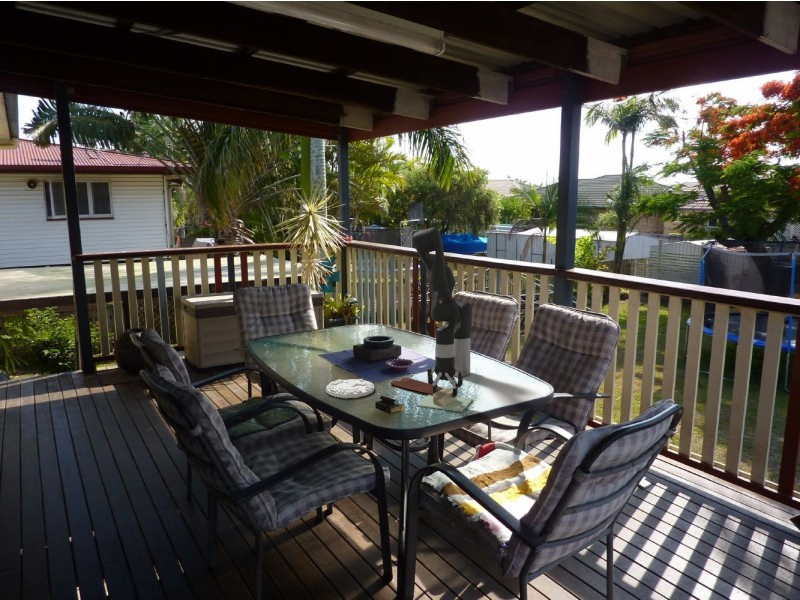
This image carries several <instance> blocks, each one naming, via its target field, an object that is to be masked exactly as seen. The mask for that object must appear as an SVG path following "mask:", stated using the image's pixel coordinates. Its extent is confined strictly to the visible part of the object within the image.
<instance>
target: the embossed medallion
mask: <svg viewBox="0 0 800 600" xmlns="http://www.w3.org/2000/svg"><path fill="white" fill-rule="evenodd" d="M374 385H375V384H374V383H373V382H371V381H368V380H364V378H359V379H350V378H349V379H336V380H333V381H330V382H329V384H327V385H326V388H325V389H326V393H327V394H328V395H330V396H332V397H333V396H334V398H336V397H337V398H342V399H346V400H347V399H348V398H349V399H358V398H361V397H364V396H368V395H371V394H372V393H373V392H374V391H375V386H374Z"/></svg>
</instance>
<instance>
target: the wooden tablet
mask: <svg viewBox="0 0 800 600" xmlns="http://www.w3.org/2000/svg"><path fill="white" fill-rule="evenodd" d="M390 384H391V385H392V386H396V387H399V388H404V389H408V390H413V391H416V392H419V393H420V392H421V393H425V394H428V395H429V394H433V385H431V384H428V382H425V381H422V380H419V379H414V378H409V377H402V378H401V379H399V380H392V381H391V382H389V385H390ZM442 389H445V388H444V387H442V386H439V385H438V391H440V390H442Z"/></svg>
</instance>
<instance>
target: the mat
mask: <svg viewBox="0 0 800 600" xmlns="http://www.w3.org/2000/svg"><path fill="white" fill-rule="evenodd" d="M472 400H473V401H474V399H473V398H469V397H461V396H457V400H456V401H454V402H452V403H450V404H448V405H446V406H440V405H436V404H433V394H429V393H428V394H427V395H426V397H424V398H423V399H422V400H421V401H420V402H419V403H417V404H416V407H419V408H425V407H426V408H427V409H433V408H435V409H434V410H440V409H442V410H441V411H448V410H453V411H452V412H456V411H460V412H459V413H463V412H464V411H465V410H466V409H467V407H469V405H470V404H471V403H472V402H473V401H472ZM471 401H472V402H471ZM465 408H466V409H465ZM464 409H465V410H464ZM463 410H464V411H463Z"/></svg>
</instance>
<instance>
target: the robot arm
mask: <svg viewBox="0 0 800 600" xmlns="http://www.w3.org/2000/svg"><path fill="white" fill-rule="evenodd" d="M412 243H413V247H414V248H415V251H416V252H417V254H418V256H419V257H420V259H421V261H422V263H423V264H424V266H425V269H426V271H427V273H428V275H429V276H428V284H429V290H430V295H431V307H430V316H431V319H432V320H433V321H434V322H435V323H443V322H444V323H445V322H446V323H445V324H444V325H442V326H439V327H437V328H436V329H435V348H434V356H435V357H434V362H435V363H434V366H435V367H434V368H432V367H429V368H428V369H427V370H426V373H427V383H428V384H431V385H433V394H434V393H436V392H438V386H439V385H438V383H439V382H440V381H447V382H449V384H450V385H451V386H452V387H453V388H452V389H453V398H455V397H456V396H457V397H458V395H459V394H458V388H461V387H462V386H463V385H464V384H463V381H464V379H463V377H467V376H468V377H469V376H471V333H472V323H473V321H472V320H473V307H472V304H471V303H470V302H468V301H461V300H460V301H459V300H455V299H454V297H453V295H452V294H453V292H454V289H455V287H456V279H455V276H454V274H453V271H452V268H451V267H449V266H448V265H447V264H446V263H445V252H444V245H443V244H444V243H443V239H442V236H441V232H440V231H439V228H437V227H435V226H432V227H428V228H426V229H424V230H423V229H422V230H420V231H417V232H414V234H413V235H412ZM432 252H435V255H434V256H433V255H431V253H432ZM440 301H441V302H440ZM457 323H459V327H457V328H456V326H457ZM434 374H435V375H436V377H435V378H434V376H433V375H434ZM456 377H457V380H456Z"/></svg>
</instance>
